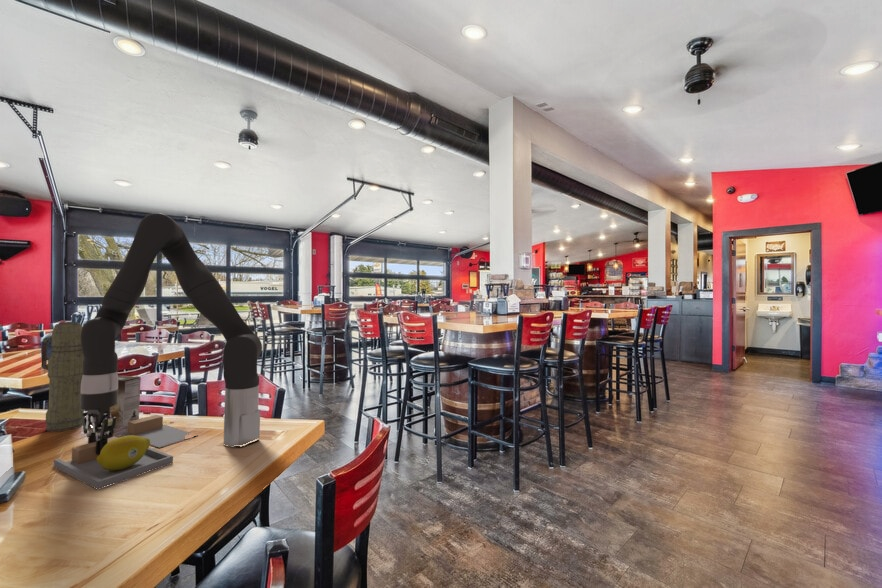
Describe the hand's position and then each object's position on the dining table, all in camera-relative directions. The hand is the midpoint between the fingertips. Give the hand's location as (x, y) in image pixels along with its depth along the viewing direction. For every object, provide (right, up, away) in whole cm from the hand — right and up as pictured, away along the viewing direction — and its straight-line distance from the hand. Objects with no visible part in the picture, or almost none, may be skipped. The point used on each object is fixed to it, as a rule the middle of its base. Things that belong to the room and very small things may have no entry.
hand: (97, 451), depth 99 cm
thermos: (-32, -1, +22) cm, 38 cm away
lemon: (+13, -2, -6) cm, 15 cm away
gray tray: (+8, -2, -4) cm, 10 cm away
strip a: (+5, -2, +16) cm, 17 cm away
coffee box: (-17, -2, +25) cm, 30 cm away
